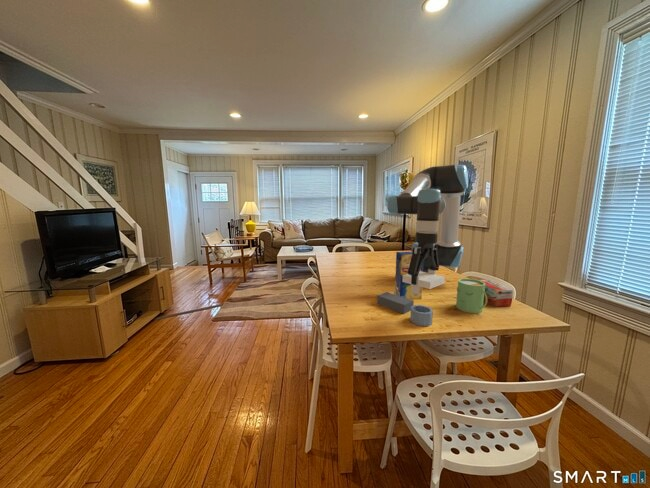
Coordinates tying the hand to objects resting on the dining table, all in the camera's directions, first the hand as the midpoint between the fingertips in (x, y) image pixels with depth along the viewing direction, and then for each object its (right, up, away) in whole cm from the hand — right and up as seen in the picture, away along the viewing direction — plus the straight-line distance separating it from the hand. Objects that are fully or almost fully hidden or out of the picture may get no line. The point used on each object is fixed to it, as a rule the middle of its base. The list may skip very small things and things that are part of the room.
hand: (422, 289), depth 97 cm
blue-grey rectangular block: (-6, -11, +16) cm, 20 cm away
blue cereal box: (+3, -9, +28) cm, 29 cm away
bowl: (0, -13, +2) cm, 13 cm away
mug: (+26, -11, +13) cm, 31 cm away
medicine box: (+41, -10, +23) cm, 48 cm away
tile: (0, +3, 0) cm, 3 cm away
